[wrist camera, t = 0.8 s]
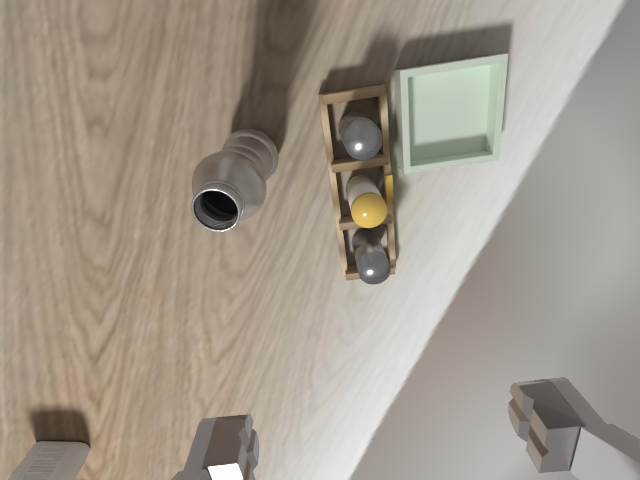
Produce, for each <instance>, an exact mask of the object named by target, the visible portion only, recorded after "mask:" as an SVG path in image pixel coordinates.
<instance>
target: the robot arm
mask: <svg viewBox="0 0 640 480" xmlns="http://www.w3.org/2000/svg"><path fill="white" fill-rule="evenodd" d="M510 393H511V395H512V396H513V399H512V400H511V401H510V402H509V407H508V412H509V417H510V421H511V423H512V426H513V428H514V430H515V432H516V433H517V435H518V436H519V437H520V438H522V439H523V440H525V441H526V442H527V447H526V451H527V452H528V454H529V456H530V458H531V460H532V461H533V463H534V465H535V466H536V468H537V470H538V471H539V473H543V472H557V471H570V470H571V471H570V472H571V473H572V474H573V475H574V476H576V477H577V478H578V479H579V480H640V439H638V438H637V437H635V436H633V435H631V434H629V433H628V432H626V431H624V430H622V429H620V428H619V427H617V426H615V425H613V424H606V423H605V422H604V421H603V419H602V418H601V417H600V416H599V415H598V414H597V413H596V411H595V410H594V409H593V408H592V407H591V406H590V404H589V403H588V402H587V401H586V400H585V399H584V397H582V395H581V394H580V393H579V392H578V390H577V389H576V388H575V387H574V386H573V385H572V384H571V382H570V381H569V380H568V379H566V378H565V377H561V378H553V379H541V380H534V381H526V382H519V383H513V384H512V385H511V389H510ZM252 425H253V420H252V418H251V415H238V416H226V417H216V418H206V419H202V420H201V422H200V423H199V425H198V428H197V431H196V434H195V437H194V440H193V443H192V446H191V449H190V453H189V456H188V459H187V462H186V465H185V468H184V471H179V472H178V473H177V474H176V475H175V476H174V477H173V478H172V479H171V480H255V477H254V474H253V470H254V468H255V467H256V466H257V464H258V457H259V442H258V436H257V433H256V431H255V430H253V429H252Z"/></svg>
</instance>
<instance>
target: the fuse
mask: <svg viewBox="0 0 640 480" xmlns="http://www.w3.org/2000/svg"><path fill="white" fill-rule="evenodd" d="M346 195H347V198H348V202H349V206H350V209H351V215H352V218H353V220H354V222H355V223H356V224H357V225H359V226H361V227H364V228H372V227H376V226H378V225H379V224H381V223H382V222H383V221H384V219H385V218H386V215H387V205H386V203H385V201H384V199H383V198H382V196H381V194H380V192H379V191H378V189H377V187H376V185H375V183H374V181H373V180H372V179H371V178H370V177H369V176H366V175H356V176H354V177H352V178H351V179H350V180H349V181H348V183H347V185H346Z"/></svg>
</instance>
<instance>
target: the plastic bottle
mask: <svg viewBox="0 0 640 480" xmlns="http://www.w3.org/2000/svg"><path fill="white" fill-rule="evenodd" d="M278 160H279V158H278V152H277V149H276V146H275V144H274V142H273V141H272V140H271V138H270V137H269V136H267V135H266V134H265V133H263V132H261V131H259V130H255V129H242V130H238V131H236V132H234V133H232V134H231V135H230V136H229V137H228V138H227V139H226V141H225V143H224V146H223V148H222V151H220V152H217V153H214V154H212V155H209V156H208V157H206V158H204V159H203V160H202V161H201V162H200V163H199V164H198V165H197V166H196V168H195V170H194V173H193V177H192V192H193V196H194V198H193V201H192V213H193V215H194V218H195V219H196V220H197V222H198V223H199V224H200V225H202V226H203V227H204V228H206V229H208V230H211V231H216V232H223V231H227V230H229V229H231V228H233V227H234V226H235V225H236V224H237V223H238V222H239V221H243V220H245V219H247V218H249V217H251V216H253V215H254V214H256V213H257V212H258V211H259V209H260V208H261V207H262V205H263V203H264V200H265V196H266V180H268V179H269V178H270V177H271V176H272V175H273V174H274V172H275V170H276V169H277V166H278Z"/></svg>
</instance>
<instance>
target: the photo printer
mask: <svg viewBox="0 0 640 480" xmlns="http://www.w3.org/2000/svg"><path fill="white" fill-rule="evenodd" d="M89 451H90V448H89V446H88V445H87V444H86V443H82V442H57V441H40V442H36V443H35V444H34V446H33V447H32V448H31V450H30V451H29V452H28V454H27V455H26V457H25V458H24V459H23V461H22V462H21V463H20V465H19V466H18V467H17V469H16V470H15V472H14V473H13V474H12V476H11V477H10V478H9V480H74V479H75V477H76V475H77V474H78V472H79V470H80V468H81V467H82V465H83V463H84V461H85V460H86V458H87V456H88V453H89Z"/></svg>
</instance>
